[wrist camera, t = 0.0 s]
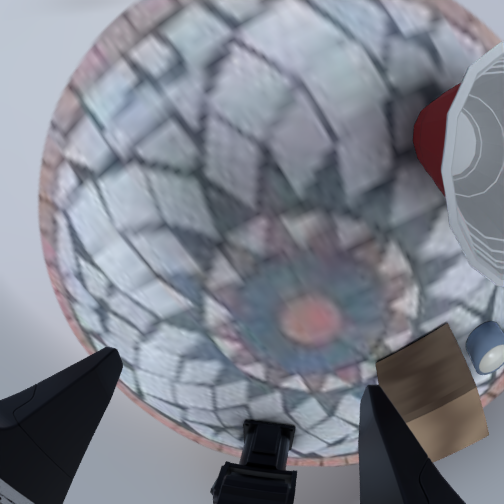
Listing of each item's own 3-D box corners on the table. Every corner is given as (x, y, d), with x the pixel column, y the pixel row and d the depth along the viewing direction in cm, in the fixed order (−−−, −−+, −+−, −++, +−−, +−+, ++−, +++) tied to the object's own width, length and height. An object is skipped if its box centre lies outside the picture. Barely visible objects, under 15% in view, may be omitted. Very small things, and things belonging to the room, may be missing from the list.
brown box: (411, 411, 28) (420, 467, 21) (375, 363, 26) (384, 431, 19) (470, 380, 25) (489, 434, 18) (447, 322, 23) (476, 387, 16)
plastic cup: (345, 146, 19) (388, 179, 8) (428, 42, 14) (521, -8, 4) (445, 240, 20) (520, 335, 10) (517, 145, 15) (622, 182, 5)
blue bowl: (489, 353, 24) (499, 373, 21) (459, 355, 24) (469, 377, 21) (505, 320, 22) (518, 340, 19) (475, 321, 22) (487, 343, 19)
